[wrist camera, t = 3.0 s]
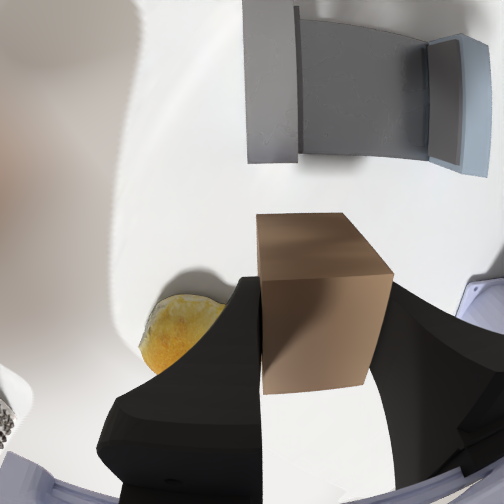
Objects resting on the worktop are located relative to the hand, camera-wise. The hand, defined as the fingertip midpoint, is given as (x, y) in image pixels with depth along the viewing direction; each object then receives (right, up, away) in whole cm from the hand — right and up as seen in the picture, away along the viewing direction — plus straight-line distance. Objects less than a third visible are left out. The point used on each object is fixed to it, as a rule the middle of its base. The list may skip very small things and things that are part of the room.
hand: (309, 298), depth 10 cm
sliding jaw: (+10, +11, +4) cm, 15 cm away
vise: (+5, +11, +4) cm, 13 cm away
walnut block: (0, +1, +2) cm, 3 cm away
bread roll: (-6, -5, +12) cm, 14 cm away
